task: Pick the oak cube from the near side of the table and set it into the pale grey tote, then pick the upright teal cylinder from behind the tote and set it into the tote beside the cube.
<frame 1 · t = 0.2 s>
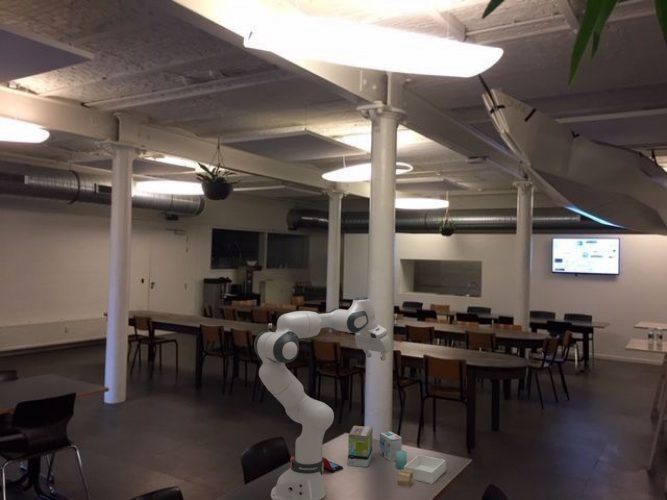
hand: (376, 358, 238), 52 cm above the table, tool tilted 20°, fingers open, 8 cm apart
handheld game console: (326, 469, 241), on the table
teal cylinder: (401, 467, 243), on the table
light bulb box: (390, 457, 256), on the table
tea box: (360, 461, 251), on the table
grey tote: (425, 474, 235), on the table
oak cube: (405, 484, 224), on the table
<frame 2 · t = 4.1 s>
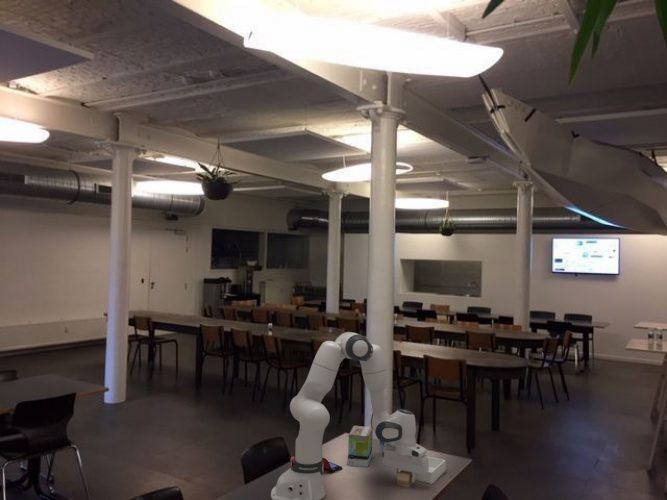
hand: (405, 480, 224), 2 cm above the table, tool pointing down, fingers closed on oak cube, 5 cm apart
oak cube: (405, 484, 224), on the table, touching gripper
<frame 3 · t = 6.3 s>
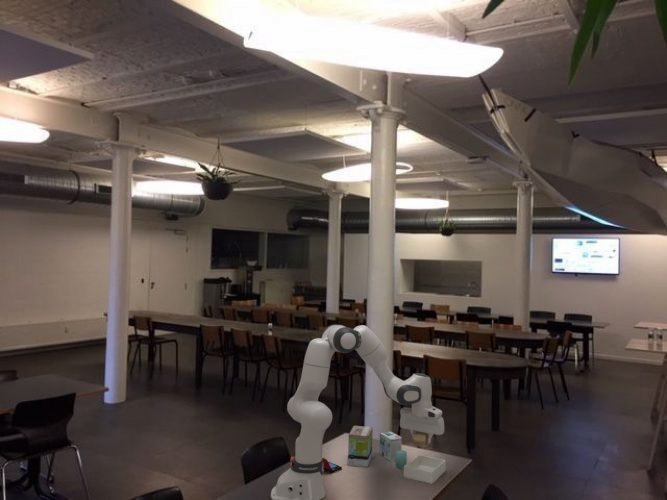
hand: (421, 441, 232), 16 cm above the table, tool pointing down, fingers closed on oak cube, 5 cm apart
oak cube: (421, 444, 232), point 14 cm above the table, touching gripper
everything else where it was.
when the fingers open (5 cm above the table, at t = 8.7 s): oak cube drops 2 cm, resting on grey tote.
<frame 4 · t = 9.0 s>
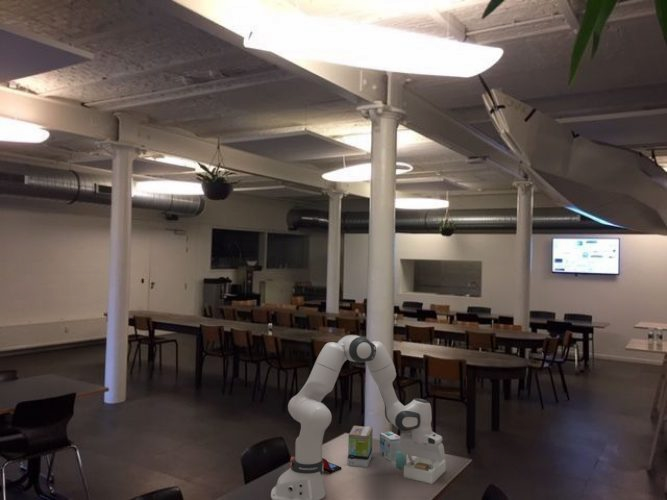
hand: (421, 467, 232), 5 cm above the table, tool pointing down, fingers open, 8 cm apart
oak cube: (421, 476, 231), point 1 cm above the table, touching grey tote
everything else where it was.
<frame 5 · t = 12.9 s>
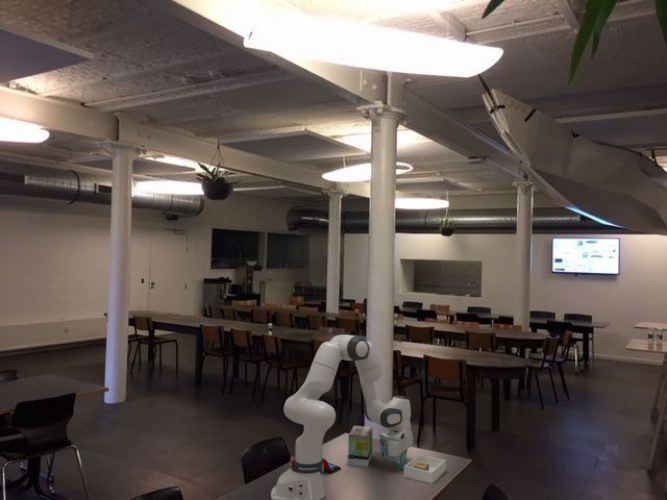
hand: (401, 460, 243), 3 cm above the table, tool pointing down, fingers closed on teal cylinder, 5 cm apart
teal cylinder: (401, 467, 243), on the table, touching gripper
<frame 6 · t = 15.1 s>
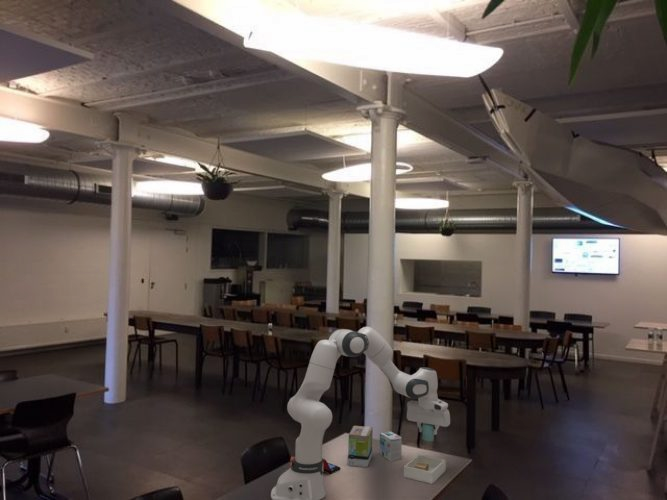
hand: (428, 433, 239), 17 cm above the table, tool pointing down, fingers closed on teal cylinder, 5 cm apart
teal cylinder: (428, 439, 239), point 14 cm above the table, touching gripper
when the fingers open (6 cm above the table, at t = 17.6 s): teal cylinder drops 2 cm, resting on grey tote.
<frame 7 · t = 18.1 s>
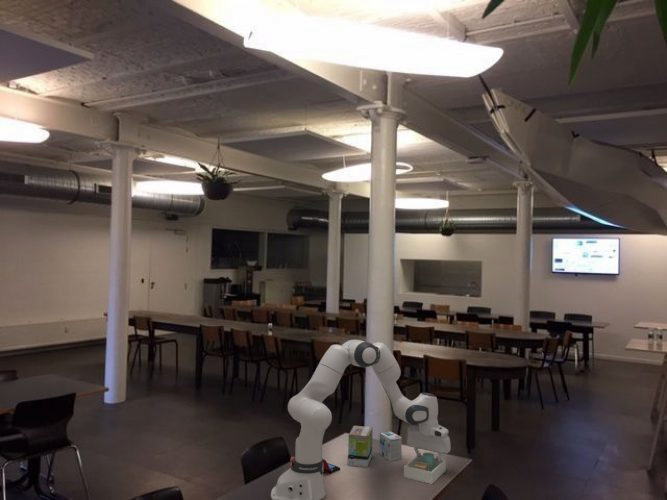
hand: (428, 459, 238), 6 cm above the table, tool pointing down, fingers open, 8 cm apart
teal cylinder: (428, 470, 238), point 1 cm above the table, touching grey tote
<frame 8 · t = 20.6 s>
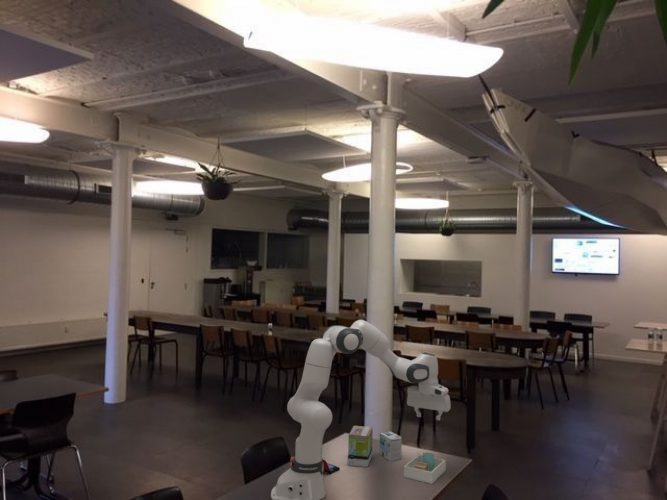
hand: (428, 418, 239), 24 cm above the table, tool pointing down, fingers open, 8 cm apart
at the end: oak cube 4.1 cm from the grey tote (horizontally); teal cylinder 3.9 cm from the grey tote (horizontally); the gripper is holding nothing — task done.
